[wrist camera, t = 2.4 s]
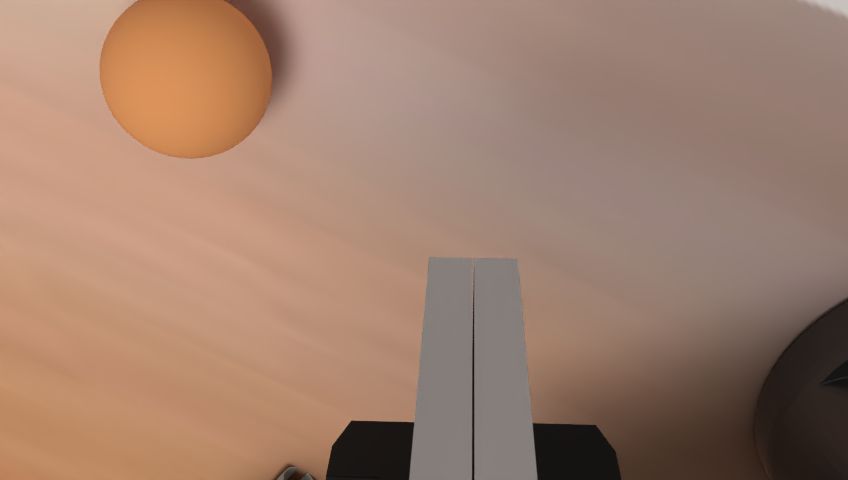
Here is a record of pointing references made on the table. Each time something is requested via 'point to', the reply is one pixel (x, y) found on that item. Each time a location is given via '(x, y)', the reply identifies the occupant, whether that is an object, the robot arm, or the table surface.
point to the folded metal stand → (289, 471)
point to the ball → (186, 76)
